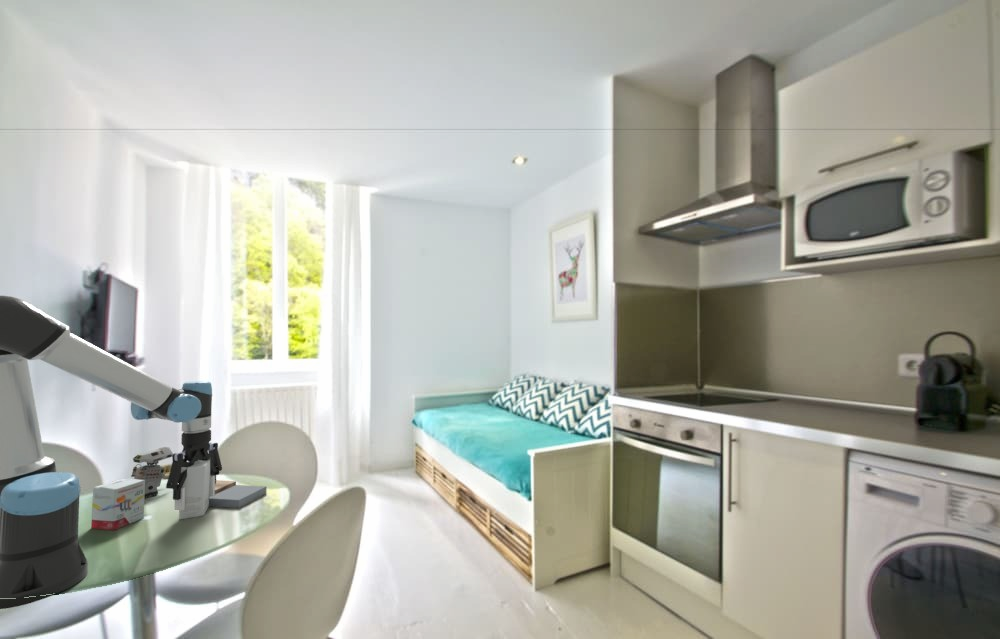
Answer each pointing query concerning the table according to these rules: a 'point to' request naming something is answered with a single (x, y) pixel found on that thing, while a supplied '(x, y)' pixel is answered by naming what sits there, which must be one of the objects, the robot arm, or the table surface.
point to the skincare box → (196, 489)
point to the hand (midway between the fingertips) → (195, 502)
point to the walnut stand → (223, 485)
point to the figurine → (151, 469)
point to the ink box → (118, 503)
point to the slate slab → (237, 496)
